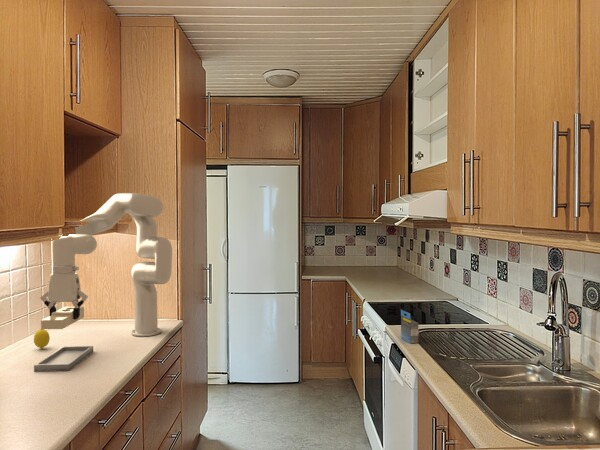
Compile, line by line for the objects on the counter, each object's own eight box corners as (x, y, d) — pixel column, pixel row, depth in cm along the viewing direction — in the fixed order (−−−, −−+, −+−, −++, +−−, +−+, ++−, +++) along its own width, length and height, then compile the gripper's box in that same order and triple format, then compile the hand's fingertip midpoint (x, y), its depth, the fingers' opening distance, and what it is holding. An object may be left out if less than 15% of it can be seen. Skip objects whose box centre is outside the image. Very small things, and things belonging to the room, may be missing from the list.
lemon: (50, 346, 200) (50, 326, 200) (48, 350, 195) (48, 329, 195) (35, 347, 198) (34, 327, 198) (32, 351, 193) (32, 331, 193)
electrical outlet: (40, 317, 170) (65, 306, 188) (41, 329, 171) (65, 317, 189) (61, 317, 170) (84, 306, 188) (62, 329, 171) (84, 316, 189)
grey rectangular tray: (62, 352, 192) (62, 346, 192) (93, 351, 192) (93, 345, 192) (34, 371, 169) (33, 365, 169) (68, 370, 170) (68, 364, 170)
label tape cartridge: (419, 343, 201) (419, 313, 201) (410, 344, 200) (410, 313, 200) (408, 337, 210) (408, 308, 210) (400, 338, 209) (400, 309, 209)
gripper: (92, 268, 184) (93, 316, 184) (43, 269, 183) (45, 316, 184) (84, 271, 176) (85, 320, 177) (33, 271, 176) (35, 321, 176)
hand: (64, 318), depth 180 cm, fingers closed on electrical outlet, 7 cm apart
